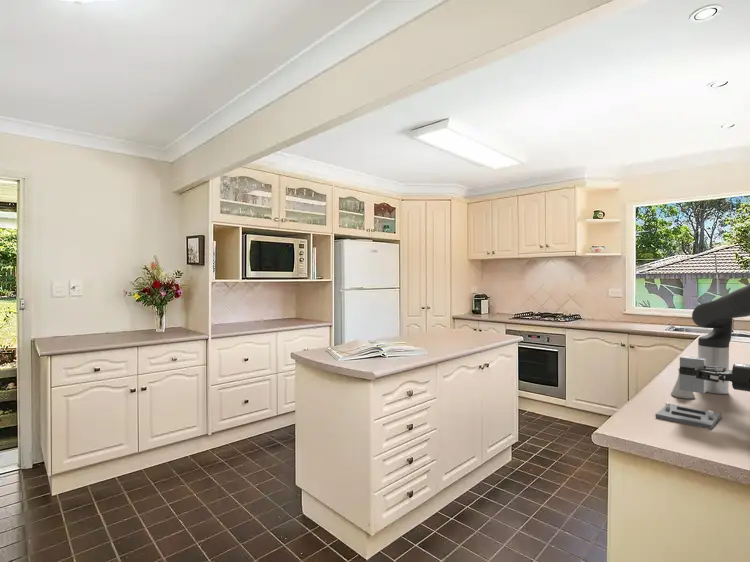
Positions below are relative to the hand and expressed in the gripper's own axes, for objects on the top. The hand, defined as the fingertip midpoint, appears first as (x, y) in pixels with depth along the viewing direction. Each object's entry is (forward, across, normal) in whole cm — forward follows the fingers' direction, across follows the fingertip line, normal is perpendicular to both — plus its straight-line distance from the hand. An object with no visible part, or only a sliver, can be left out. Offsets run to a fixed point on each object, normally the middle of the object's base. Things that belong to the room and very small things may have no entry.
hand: (681, 369), depth 132 cm
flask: (+5, -27, +15) cm, 31 cm away
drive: (-3, 0, +6) cm, 7 cm away
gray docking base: (-2, 0, +15) cm, 15 cm away
